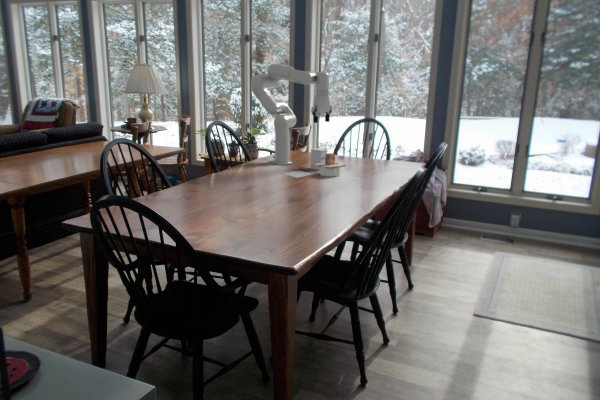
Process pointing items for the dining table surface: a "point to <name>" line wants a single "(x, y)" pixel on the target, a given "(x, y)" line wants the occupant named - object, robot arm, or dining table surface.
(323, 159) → the supplement box
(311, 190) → the dining table surface
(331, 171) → the bowl
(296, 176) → the mat
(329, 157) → the lid
